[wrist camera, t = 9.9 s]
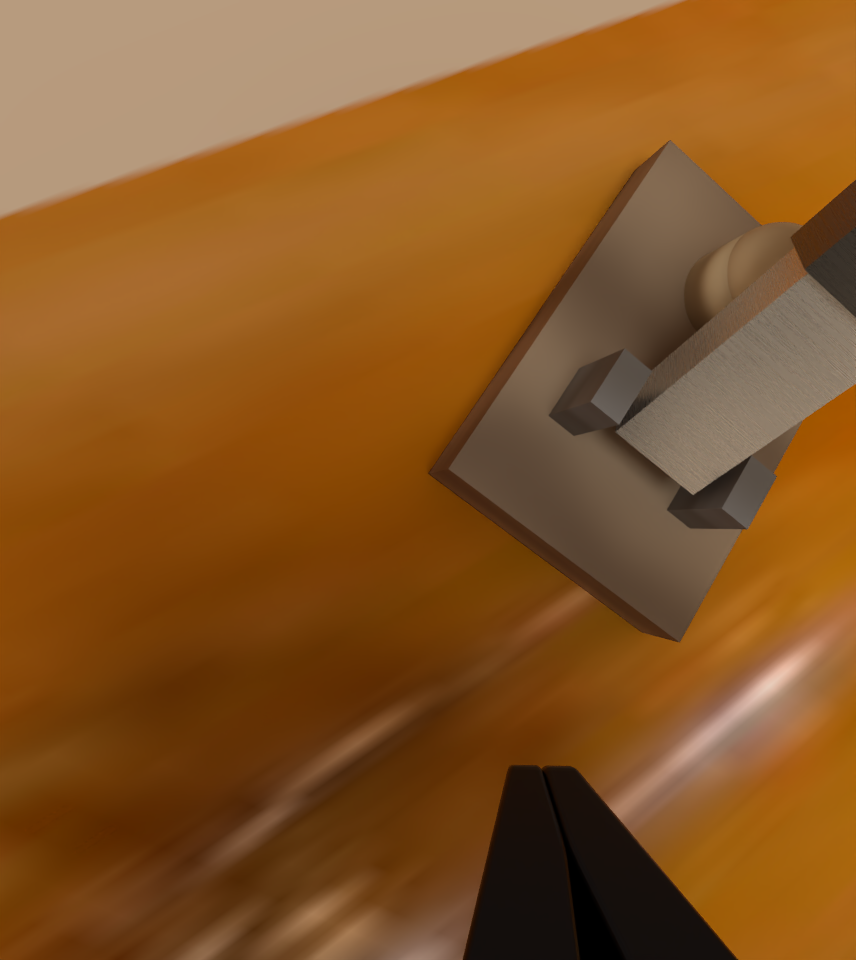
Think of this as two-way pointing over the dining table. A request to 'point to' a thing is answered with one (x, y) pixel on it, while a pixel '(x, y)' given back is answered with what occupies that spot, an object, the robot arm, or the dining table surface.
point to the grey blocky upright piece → (756, 359)
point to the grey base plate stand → (613, 413)
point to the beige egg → (734, 269)
